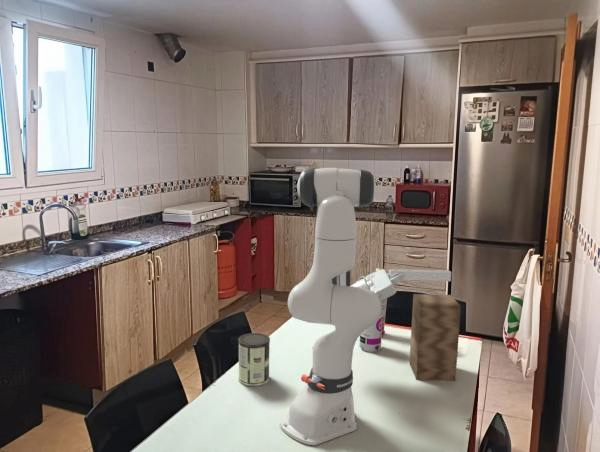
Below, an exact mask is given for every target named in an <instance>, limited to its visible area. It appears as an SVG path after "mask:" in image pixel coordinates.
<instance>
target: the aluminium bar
mask: <svg viewBox="0 0 600 452" xmlns="http://www.w3.org/2000/svg"><path fill="white" fill-rule="evenodd" d="M388 273H389V279H392V278H394V277H396V276H398V274H400V273H403V275H404V277H405V278H404V279H403V280H402V281H417V282H418V281H421V282H422V281H424V282H425V281H426V282H451V281H452V280H451V279H452V271H450V270H449V269H444V270H443V269H412V268H411V269H409V268H408V269H407V268H404V269H403V268H398V269H397V268H389V270H388Z"/></svg>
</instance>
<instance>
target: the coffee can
mask: <svg viewBox="0 0 600 452" xmlns="http://www.w3.org/2000/svg"><path fill="white" fill-rule="evenodd" d="M237 341H238V382H239V383H240V384H242V385H245V386H248V387H258V386H262V385H265V384H267V383H268V382H269V381H270V341H271V338H270V336H269V335H267V334H265V333H259V332H249V333H245V334H243V335H240V336H239V337H238V340H237Z"/></svg>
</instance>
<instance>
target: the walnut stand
mask: <svg viewBox="0 0 600 452" xmlns="http://www.w3.org/2000/svg"><path fill="white" fill-rule="evenodd" d="M412 295H413V298H412V310H411V311H412V313H411V315H412V316H411V317H412V318H411V328H410V329H411V330H410V332H411V333H410V346H409V347H410V351H409V366H410V368H411V370H412V374H413V376H414V377H415V380H418V381H445V382H446V381H448V382H449V381H450V382H452V381H453V382H456V381H457V380H456V377H457V363H458V349H459V337H460V336H459V335H460V323H461V308H462V307H461V304H459V302H458V301H457V300H456V299H455V298H454V297H453V296H452V295H451V294H426V293H424V294H422V293H421V294H420V293H419V294H418V293H413V294H412Z"/></svg>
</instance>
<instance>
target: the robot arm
mask: <svg viewBox="0 0 600 452" xmlns="http://www.w3.org/2000/svg"><path fill="white" fill-rule="evenodd" d="M296 189H297V194H298V197H299V199H300V201H301V202H302V204H303V205H304V206H307V207H309V209H310V211H312V212H313V211H314V206H316V207H317V213H316V219H315V220H316V221H315V231H314V252H313V260H312V261H313V262H312V266H311V268H310V271H309V272H308V274H307V275H306V277H304V279H303V280H302V281H300V282H299V283H297V284H296V285H295V286H294V287H293V288H292V289H291V291H290V292H289V293H288V298H287V307H288V311H289V313H290V315H291V316H292V318H294V319H295V320H299V321H302V322H305V323H310V324H320V325H330V326H334V327H335V329H334V330H333V331H330V332H329V333H325V334H323V335H321V336H319V337H318V338H317V339H316V340H315V341H314V343H313V345H312V367H311V370H310V373H309V375H307V374H305V373H303V374H302V375H301V378H300V380H301V381H302V382H303V383H305V384H306V385H305V386H304V388H303V389H301V391H300V393H298V395H297V396H296V398H294V400H293V401H292V402H291V403H290V406H289V410H288V415H286V416H285V417H283V418H282V419H281V420H280V421H279V427H280V429H281V430H282V431H283V432H284V433H285V434H286V435H288V436H289V437H290V438H292V439H294V440H296V441H297V442H299V443H301V444H305V445H308V446H309V445H310V446H317V445H320V444H323V443H325V442H328V441H331V440H333V439H336V438H339V437H341V436H344V435H347V434H349V433H351V432H354V431H356V430H358V426H357V422H356V414H355V405H354V404H355V403H354V402H355V401H354V396H353V395H354V394H353V390H352V389H353V388H352V386H353V383H354V381H353V380H354V376H353V375H354V374H353V373H354V371H353V370H352V367H353V366H352V364H353V355H354V353H353V352H354V348H355V344H356V342H357V340H358V338H360V334H361V333H362V332H363V331H364V330H366V329H367V328H369V327H370V326H372V325H373V324H374V323H375V322H376V321H377V320H378V318H379V316H380V312H381V303H380V301H381V300H383V299H386V298H387V299H388V298H390V297H392V296H394V295H395V294H396V293H397V289H396V288H395V286H396V285H397V284H399V283H400V282H401V281H404V280H403V279H404V278H405V277H404V275H403V273H400V274H398V276H396V277H394V278H392V279H389V272H388V273H387V271H386V269H384V268H383V269H381V270H378V271H376V270H375V271H373V272H371V273H369V274H367V275H366V276H364V275H362V276H360V277H359V278H358V279H357V281H356V282H355V283H353V284H351V270H352V269H353V267H354V266H355V264H356V250H357V249H356V248H357V247H356V246H357V224H356V223H357V220H356V213H355V208H356V207H358V208H365V207H368V206H370V205H371V204H372V203H373V202H374V200H375V199H374V198H375V196H376V193H377V182H376V179H375V177H374V175H373V174H372V172H371V171H368V170H364V169H358V170H357V169H349V168H337V167H320V168H314V167H313V168H306V169H303V170H302V172H301V173H300V176H299V177H298V181H297V185H296Z"/></svg>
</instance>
